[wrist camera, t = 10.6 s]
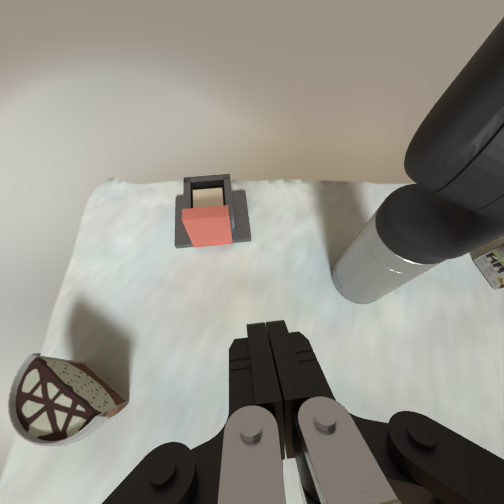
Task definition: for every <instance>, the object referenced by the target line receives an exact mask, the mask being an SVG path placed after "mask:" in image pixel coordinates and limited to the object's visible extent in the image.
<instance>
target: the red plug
mask: <svg viewBox="0 0 504 504" xmlns="http://www.w3.org/2000/svg"><path fill="white" fill-rule="evenodd" d="M182 222H183V224H184V226H185V228H186V231H187V233H188V235H189V238H190V240H191V242H192V244H193V247H204V246H214V245H225V244H233V242H232V232H231V224H230V216H229V208H228V205H224V198H223V191H222V188H212V189H200V190H193V208H190V209H182Z"/></svg>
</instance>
